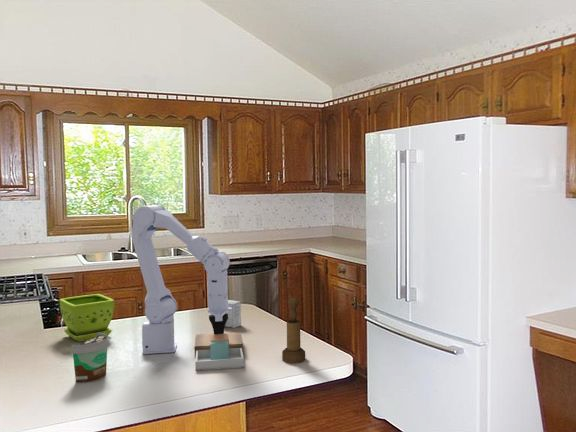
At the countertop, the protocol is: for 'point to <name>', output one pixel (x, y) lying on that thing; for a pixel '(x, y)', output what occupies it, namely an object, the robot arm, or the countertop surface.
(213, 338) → the terracotta tile
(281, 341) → the countertop surface
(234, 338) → the walnut board
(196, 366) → the tray
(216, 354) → the teal tile
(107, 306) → the flower pot
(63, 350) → the countertop surface
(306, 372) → the countertop surface
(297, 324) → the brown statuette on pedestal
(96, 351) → the food container
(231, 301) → the medicine box
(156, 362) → the countertop surface
